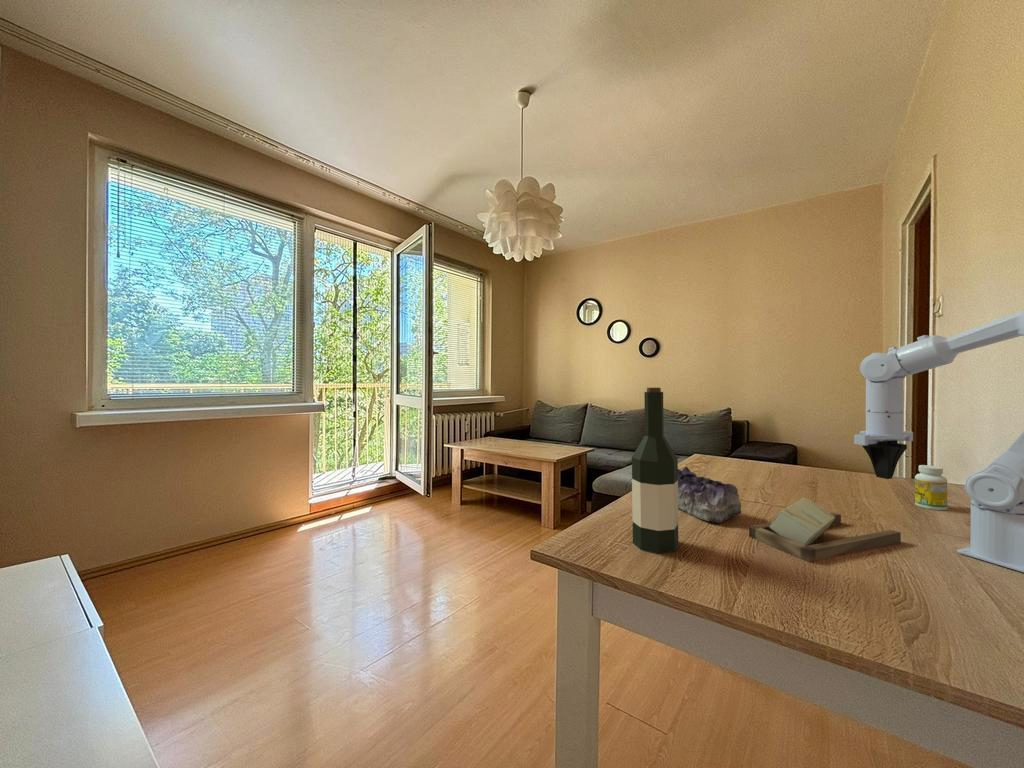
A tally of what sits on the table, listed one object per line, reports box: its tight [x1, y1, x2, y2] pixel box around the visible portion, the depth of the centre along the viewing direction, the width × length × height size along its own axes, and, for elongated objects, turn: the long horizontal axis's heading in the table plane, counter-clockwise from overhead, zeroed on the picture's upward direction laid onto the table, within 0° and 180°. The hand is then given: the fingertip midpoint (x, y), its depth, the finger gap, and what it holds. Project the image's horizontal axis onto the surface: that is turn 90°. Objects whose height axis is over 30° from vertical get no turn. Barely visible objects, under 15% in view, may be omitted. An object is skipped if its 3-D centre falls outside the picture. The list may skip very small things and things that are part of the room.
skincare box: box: [769, 496, 835, 546], centre depth 79 cm, size 6×4×12 cm
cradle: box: [748, 511, 902, 563], centre depth 79 cm, size 12×24×2 cm, turn 108°
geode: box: [678, 466, 742, 524], centre depth 97 cm, size 20×12×10 cm, turn 19°
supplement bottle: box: [914, 464, 949, 511], centre depth 96 cm, size 5×5×10 cm
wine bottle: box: [631, 387, 679, 554], centre depth 77 cm, size 8×8×30 cm
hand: (884, 477), depth 84 cm, fingers closed
